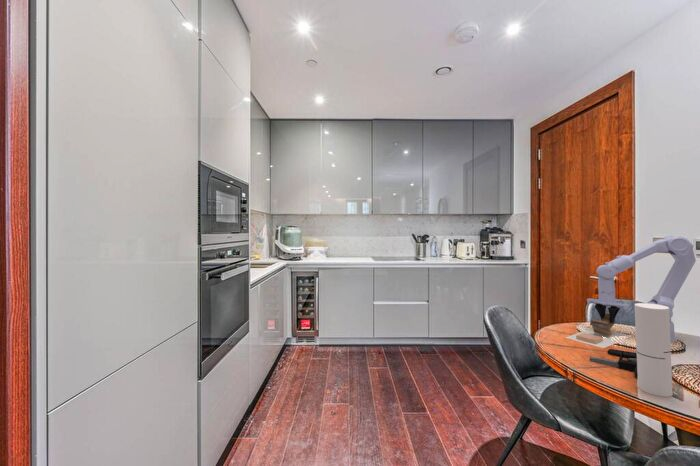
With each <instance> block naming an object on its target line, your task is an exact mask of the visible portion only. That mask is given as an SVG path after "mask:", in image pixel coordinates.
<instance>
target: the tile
mask: <svg viewBox="0 0 700 466" xmlns="http://www.w3.org/2000/svg"><path fill="white" fill-rule="evenodd" d="M576 339H578V340H582V341H586V342H590V343H593V344H597V343H599V342H602V341H603V337H598V336H594V335H590V334H586V333H582V334H579V335H576Z"/></svg>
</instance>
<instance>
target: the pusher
mask: <svg viewBox="0 0 700 466" xmlns="http://www.w3.org/2000/svg"><path fill="white" fill-rule="evenodd" d="M605 314H606V315H605V316H604V317H603V319H602V320H601V319H600V320H599V319H594V318H591V319H590V323H589V325H590V326H591V327H592V328H593V330H594V333H599V334H603V335H607V336H611V335H612V334H611V329H612V328H613V326H614V325H615V324H616V319H615V320H614V323H610V315H609V312H607V313H605Z"/></svg>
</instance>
